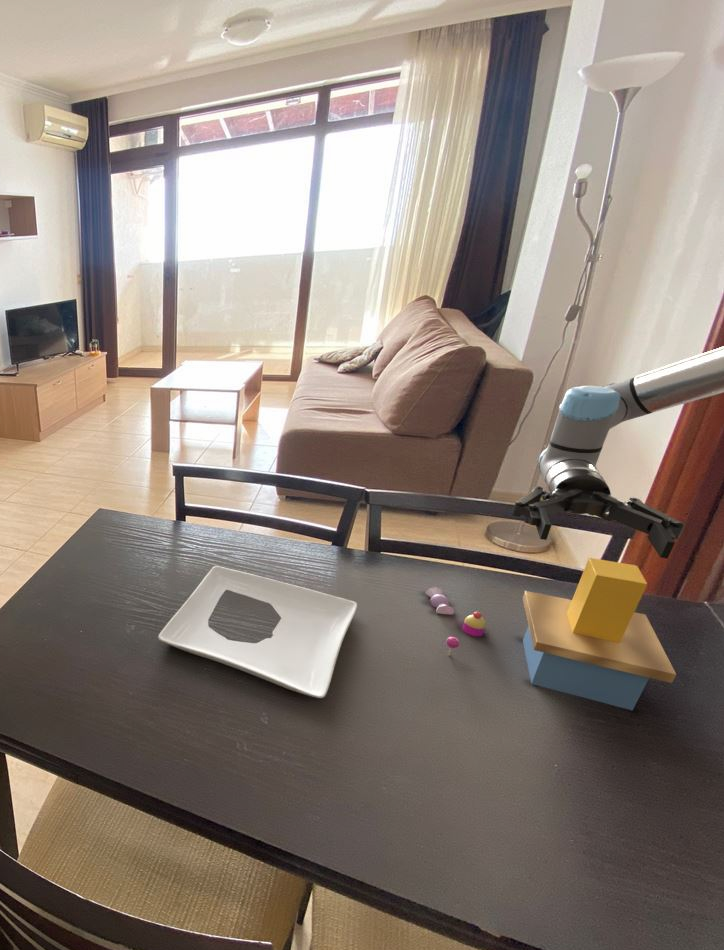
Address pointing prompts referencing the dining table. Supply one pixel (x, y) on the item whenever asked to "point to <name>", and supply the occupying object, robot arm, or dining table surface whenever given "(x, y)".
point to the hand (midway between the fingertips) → (604, 540)
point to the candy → (471, 624)
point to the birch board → (596, 640)
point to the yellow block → (605, 599)
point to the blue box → (583, 678)
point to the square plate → (294, 638)
